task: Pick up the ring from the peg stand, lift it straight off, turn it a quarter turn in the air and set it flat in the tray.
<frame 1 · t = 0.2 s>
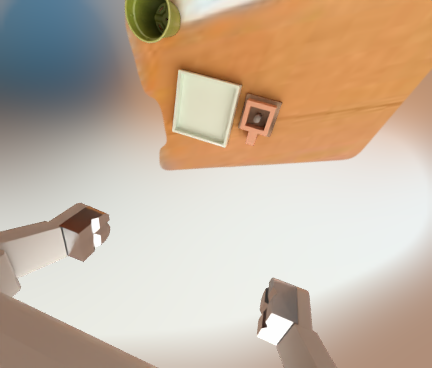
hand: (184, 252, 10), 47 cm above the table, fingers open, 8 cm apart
ring: (258, 116, 51), point 1 cm above the table, touching peg stand
peg stand: (259, 115, 52), on the table
plant pot: (168, 20, 48), on the table
tray: (206, 108, 54), on the table
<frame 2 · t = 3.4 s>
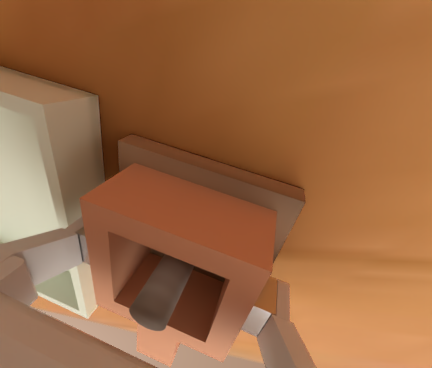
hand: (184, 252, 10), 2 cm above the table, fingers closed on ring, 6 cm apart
ring: (191, 239, 11), point 1 cm above the table, touching gripper, peg stand
peg stand: (198, 226, 12), on the table
tray: (12, 181, 15), on the table
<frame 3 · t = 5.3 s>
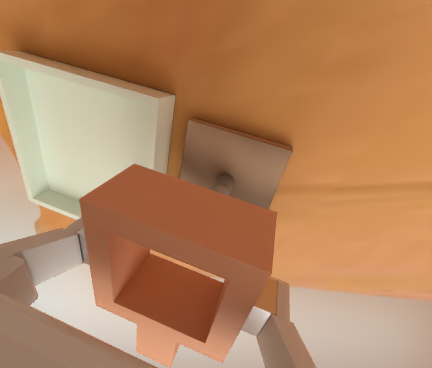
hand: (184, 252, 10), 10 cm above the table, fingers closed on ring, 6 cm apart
ring: (191, 239, 11), point 9 cm above the table, touching gripper
peg stand: (228, 176, 19), on the table
tray: (99, 152, 22), on the table
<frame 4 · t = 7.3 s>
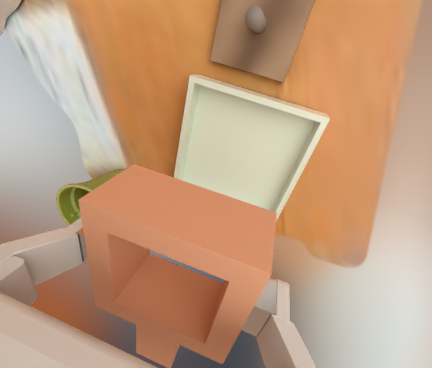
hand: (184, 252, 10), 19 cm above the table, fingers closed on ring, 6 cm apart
ring: (191, 240, 11), point 19 cm above the table, touching gripper
peg stand: (260, 25, 21), on the table
plant pot: (128, 184, 36), on the table
tray: (240, 152, 28), on the table
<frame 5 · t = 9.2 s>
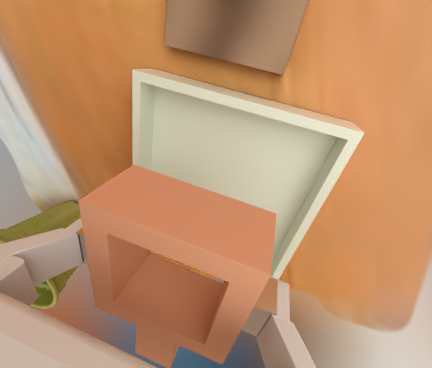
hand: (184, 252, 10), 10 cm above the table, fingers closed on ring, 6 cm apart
ring: (190, 240, 11), point 9 cm above the table, touching gripper
plant pot: (84, 219, 28), on the table
tray: (223, 180, 19), on the table
when the fingers open (3 cm above the table, at t = 11.1 s): ring drops 1 cm, resting on tray.
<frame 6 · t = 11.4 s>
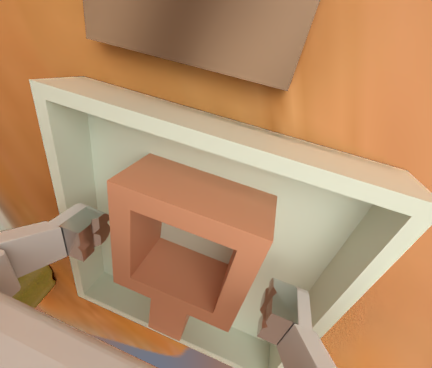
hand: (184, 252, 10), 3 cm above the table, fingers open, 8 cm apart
ring: (199, 223, 12), point 1 cm above the table, touching tray
plant pot: (33, 263, 22), on the table
tray: (199, 236, 13), on the table
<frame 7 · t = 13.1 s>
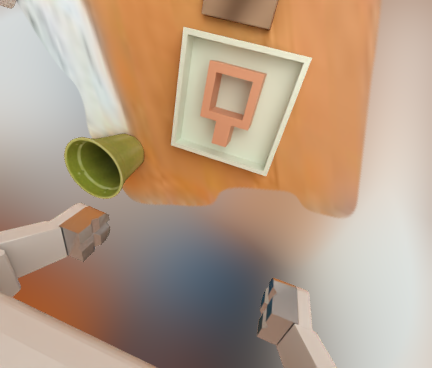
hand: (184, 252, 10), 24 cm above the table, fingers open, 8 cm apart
ring: (235, 94, 28), point 1 cm above the table, touching tray
plant pot: (130, 149, 38), on the table
tray: (233, 105, 30), on the table
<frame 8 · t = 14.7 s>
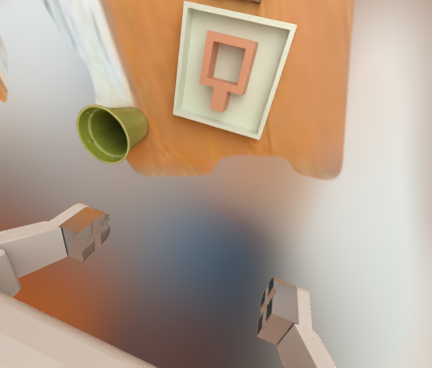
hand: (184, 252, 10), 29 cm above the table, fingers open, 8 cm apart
ring: (230, 64, 32), point 1 cm above the table, touching tray
plant pot: (135, 123, 42), on the table
tray: (229, 75, 33), on the table
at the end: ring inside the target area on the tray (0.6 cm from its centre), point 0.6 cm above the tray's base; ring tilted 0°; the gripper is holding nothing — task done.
